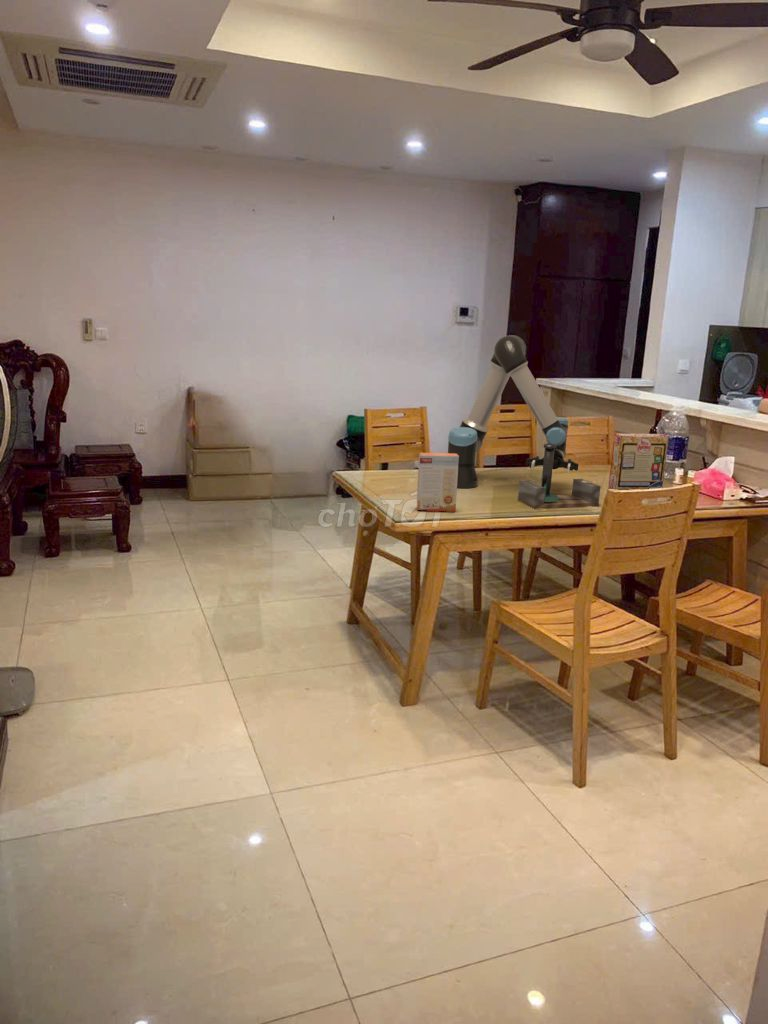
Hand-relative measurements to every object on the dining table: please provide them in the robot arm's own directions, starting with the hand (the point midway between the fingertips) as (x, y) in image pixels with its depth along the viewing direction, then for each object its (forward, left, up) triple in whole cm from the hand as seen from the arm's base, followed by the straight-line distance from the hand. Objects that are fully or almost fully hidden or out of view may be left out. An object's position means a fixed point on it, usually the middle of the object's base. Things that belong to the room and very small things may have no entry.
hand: (550, 468), depth 291 cm
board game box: (+39, -2, -14) cm, 41 cm away
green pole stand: (-1, -1, -12) cm, 12 cm away
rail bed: (+5, -1, -14) cm, 15 cm away
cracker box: (-47, -3, -14) cm, 50 cm away
